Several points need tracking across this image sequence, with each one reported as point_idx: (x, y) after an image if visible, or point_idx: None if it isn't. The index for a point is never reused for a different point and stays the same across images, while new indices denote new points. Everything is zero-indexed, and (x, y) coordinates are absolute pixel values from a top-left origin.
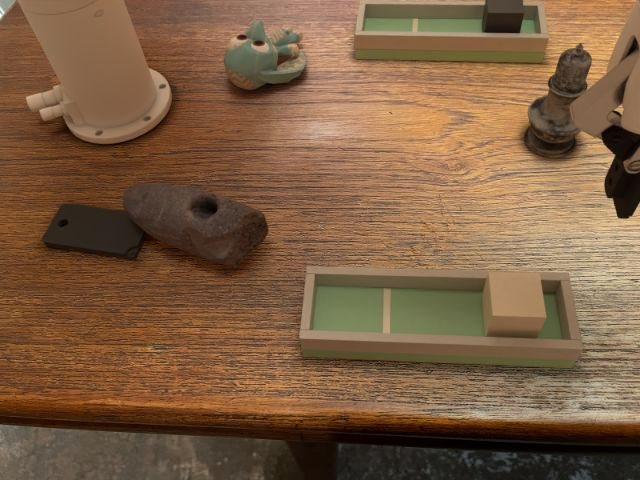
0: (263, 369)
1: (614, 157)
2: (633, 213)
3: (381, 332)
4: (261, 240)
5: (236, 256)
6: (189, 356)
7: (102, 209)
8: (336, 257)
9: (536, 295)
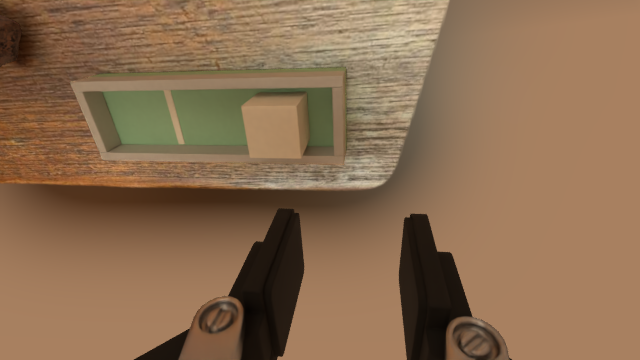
0: None
1: (235, 281)
2: (302, 278)
3: (175, 134)
4: (14, 32)
5: (4, 59)
6: (45, 147)
7: None
8: (109, 31)
9: (292, 134)
